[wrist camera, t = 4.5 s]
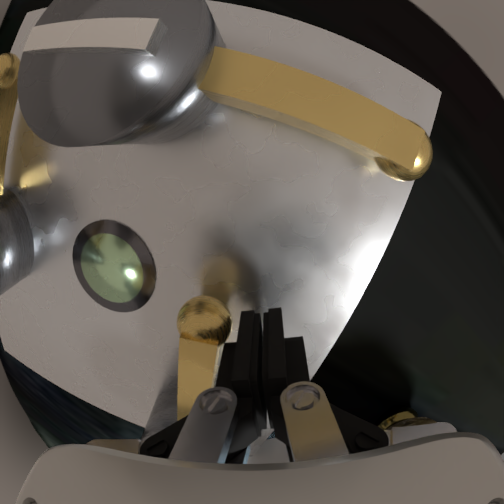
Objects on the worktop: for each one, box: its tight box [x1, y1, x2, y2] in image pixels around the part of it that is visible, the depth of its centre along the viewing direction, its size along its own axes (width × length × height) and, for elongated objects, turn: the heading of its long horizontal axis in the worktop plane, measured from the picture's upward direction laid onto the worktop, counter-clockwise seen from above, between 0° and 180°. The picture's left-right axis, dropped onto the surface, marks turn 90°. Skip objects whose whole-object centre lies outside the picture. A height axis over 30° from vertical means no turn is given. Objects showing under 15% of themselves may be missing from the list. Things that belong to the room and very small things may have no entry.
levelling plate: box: [0, 0, 441, 457], centre depth 13 cm, size 26×23×2 cm
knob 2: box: [140, 295, 233, 441], centre depth 12 cm, size 14×6×6 cm, turn 169°
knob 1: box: [17, 0, 433, 182], centre depth 7 cm, size 14×6×6 cm, turn 71°
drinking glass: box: [247, 438, 289, 464], centre depth 15 cm, size 7×7×10 cm
